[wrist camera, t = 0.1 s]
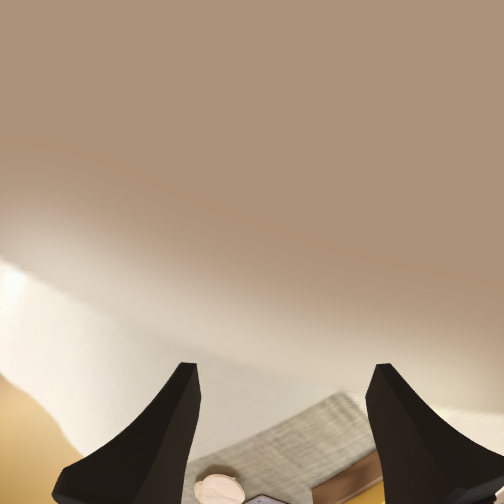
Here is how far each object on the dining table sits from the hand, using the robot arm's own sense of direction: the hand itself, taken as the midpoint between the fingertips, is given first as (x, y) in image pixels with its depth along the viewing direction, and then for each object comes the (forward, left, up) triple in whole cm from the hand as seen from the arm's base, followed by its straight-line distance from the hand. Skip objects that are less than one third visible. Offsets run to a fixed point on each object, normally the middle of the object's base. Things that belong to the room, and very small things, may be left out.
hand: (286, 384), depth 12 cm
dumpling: (-21, -11, -11) cm, 26 cm away
